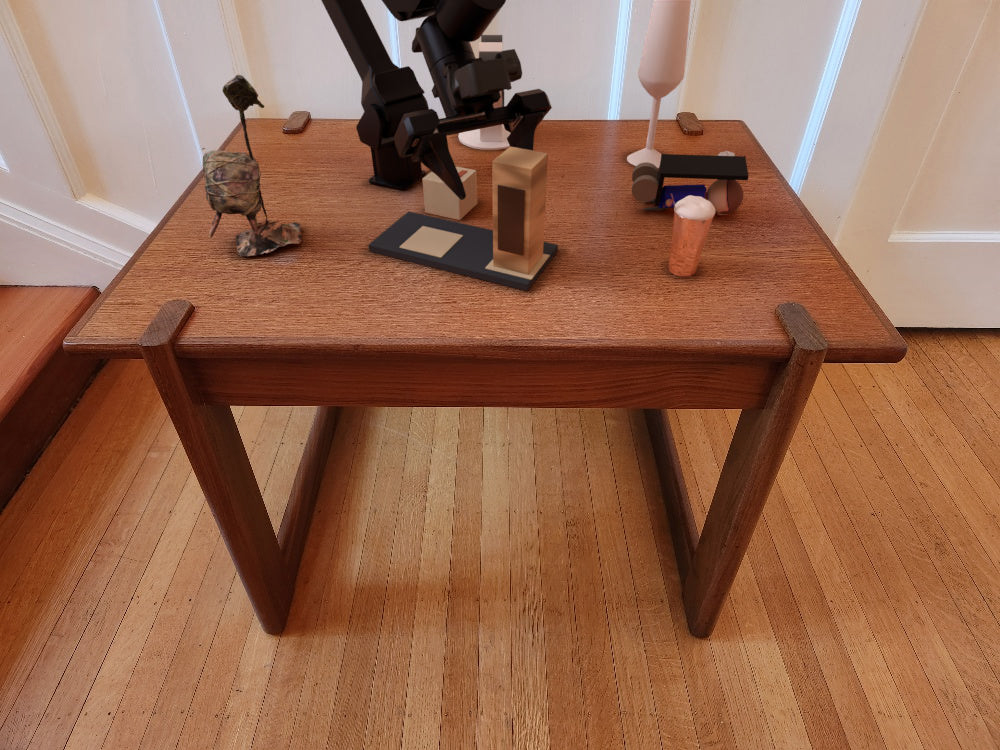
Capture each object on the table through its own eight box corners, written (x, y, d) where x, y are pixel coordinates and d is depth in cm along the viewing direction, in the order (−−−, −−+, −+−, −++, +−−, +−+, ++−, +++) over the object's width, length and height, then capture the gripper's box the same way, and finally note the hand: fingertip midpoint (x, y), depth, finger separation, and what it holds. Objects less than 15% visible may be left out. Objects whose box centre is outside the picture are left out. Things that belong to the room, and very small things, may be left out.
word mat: (369, 251, 82) (367, 243, 81) (409, 217, 89) (408, 210, 88) (527, 291, 75) (528, 283, 74) (557, 251, 82) (558, 243, 81)
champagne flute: (677, 162, 103) (709, -10, 87) (647, 172, 100) (674, -4, 84) (648, 148, 107) (673, -18, 91) (618, 157, 104) (638, -13, 88)
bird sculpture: (222, 230, 86) (171, 72, 73) (308, 225, 87) (273, 68, 74) (209, 262, 80) (151, 95, 67) (302, 256, 81) (263, 90, 68)
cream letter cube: (425, 212, 90) (422, 177, 86) (443, 196, 93) (441, 162, 90) (459, 220, 88) (458, 185, 85) (477, 203, 92) (476, 169, 88)
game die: (732, 168, 101) (737, 149, 99) (737, 178, 98) (741, 159, 96) (710, 167, 101) (714, 148, 99) (713, 177, 98) (717, 158, 96)
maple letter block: (492, 266, 77) (491, 161, 68) (509, 248, 80) (510, 146, 72) (527, 275, 75) (530, 169, 67) (543, 256, 79) (548, 153, 70)
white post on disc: (524, 151, 106) (527, 53, 96) (456, 151, 106) (451, 53, 96) (523, 125, 115) (525, 33, 105) (460, 125, 115) (456, 32, 105)
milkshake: (652, 261, 80) (665, 185, 73) (694, 259, 80) (711, 183, 74) (662, 281, 76) (677, 203, 70) (705, 278, 77) (725, 201, 70)
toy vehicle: (630, 225, 90) (743, 224, 86) (631, 174, 85) (751, 169, 82) (631, 204, 95) (738, 201, 91) (632, 154, 90) (745, 149, 87)
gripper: (392, 34, 65) (445, 179, 65) (547, 13, 72) (595, 144, 72) (374, 92, 75) (420, 217, 76) (511, 69, 82) (553, 183, 82)
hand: (498, 189), depth 76 cm, fingers open, 9 cm apart
